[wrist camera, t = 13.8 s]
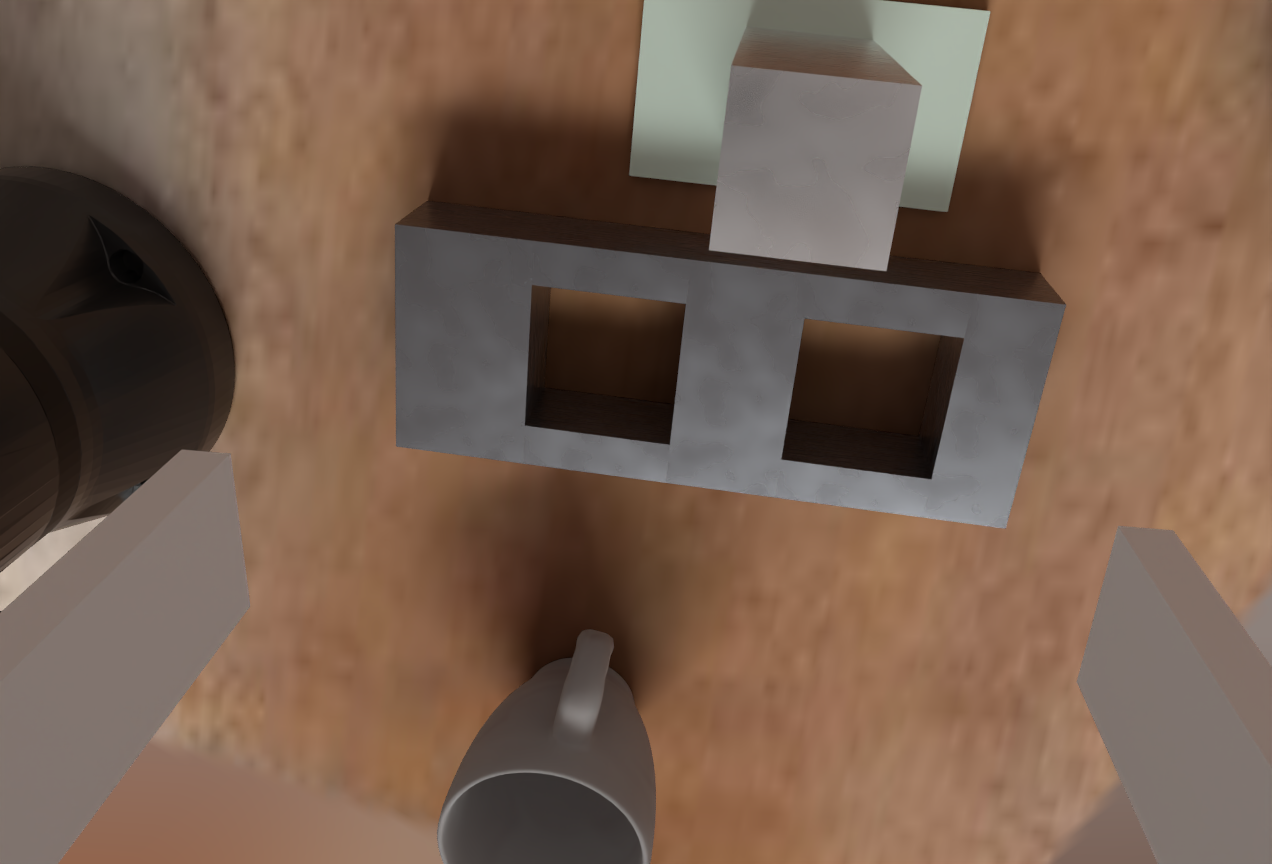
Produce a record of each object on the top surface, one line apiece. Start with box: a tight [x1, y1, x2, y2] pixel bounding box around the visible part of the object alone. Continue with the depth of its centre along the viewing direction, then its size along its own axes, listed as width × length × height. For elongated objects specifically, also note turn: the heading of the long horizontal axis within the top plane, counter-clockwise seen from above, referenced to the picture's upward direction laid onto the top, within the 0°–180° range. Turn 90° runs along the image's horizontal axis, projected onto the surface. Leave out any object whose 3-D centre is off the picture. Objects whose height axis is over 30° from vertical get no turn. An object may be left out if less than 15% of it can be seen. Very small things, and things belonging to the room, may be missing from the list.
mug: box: [437, 629, 656, 864], centre depth 47 cm, size 12×9×10 cm
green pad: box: [629, 0, 990, 212], centre depth 39 cm, size 12×7×1 cm, turn 85°
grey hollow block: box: [395, 201, 1066, 529], centre depth 42 cm, size 24×9×4 cm, turn 85°
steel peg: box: [709, 26, 922, 271], centre depth 33 cm, size 4×4×14 cm
